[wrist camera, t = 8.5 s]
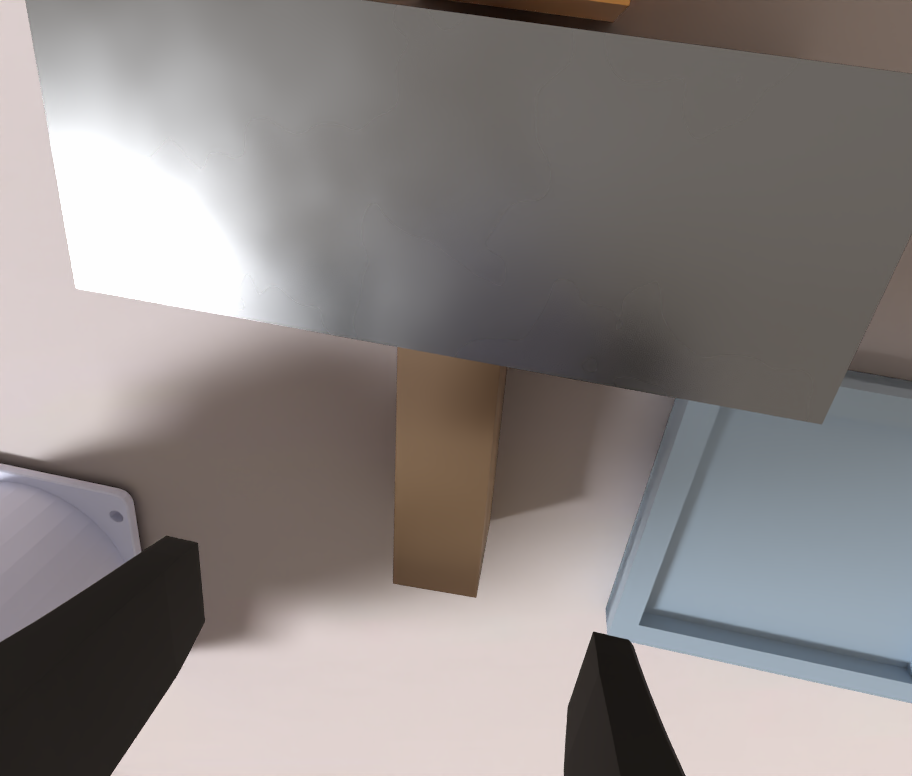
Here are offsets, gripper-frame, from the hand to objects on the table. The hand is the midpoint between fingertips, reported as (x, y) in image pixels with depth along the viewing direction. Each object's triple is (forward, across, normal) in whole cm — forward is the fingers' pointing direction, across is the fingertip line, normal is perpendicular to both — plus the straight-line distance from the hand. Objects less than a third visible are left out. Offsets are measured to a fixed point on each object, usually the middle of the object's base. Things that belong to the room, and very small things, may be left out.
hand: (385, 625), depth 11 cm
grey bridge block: (+8, 0, -7) cm, 11 cm away
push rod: (+9, 0, -2) cm, 9 cm away
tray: (+8, -11, +2) cm, 14 cm away
